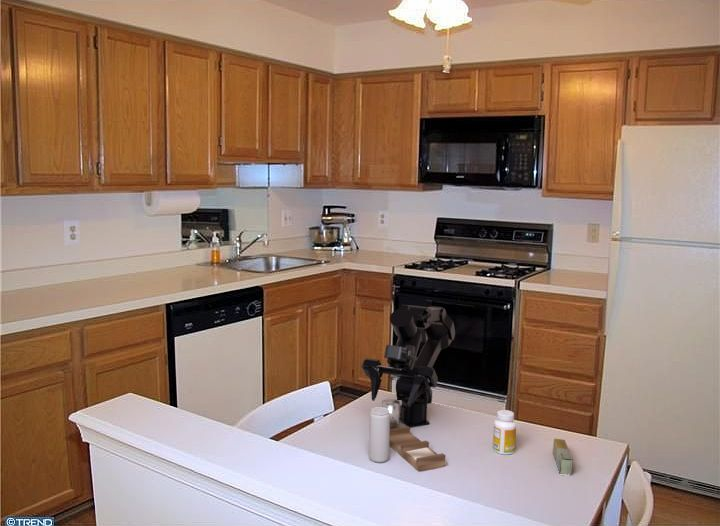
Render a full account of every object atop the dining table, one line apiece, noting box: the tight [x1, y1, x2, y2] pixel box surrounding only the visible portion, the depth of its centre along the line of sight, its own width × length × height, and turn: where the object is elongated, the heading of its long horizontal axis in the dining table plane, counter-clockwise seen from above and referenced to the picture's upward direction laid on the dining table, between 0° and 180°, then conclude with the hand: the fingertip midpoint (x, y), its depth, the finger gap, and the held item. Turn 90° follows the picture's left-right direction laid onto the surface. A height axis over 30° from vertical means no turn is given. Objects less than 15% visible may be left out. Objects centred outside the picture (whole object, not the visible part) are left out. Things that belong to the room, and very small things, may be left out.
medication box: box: [552, 438, 573, 476], centre depth 149 cm, size 12×3×4 cm, turn 171°
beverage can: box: [368, 406, 390, 464], centre depth 149 cm, size 5×5×12 cm
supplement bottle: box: [492, 409, 517, 456], centre depth 155 cm, size 5×5×10 cm
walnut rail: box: [389, 423, 446, 473], centre depth 157 cm, size 26×7×3 cm, turn 24°
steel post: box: [381, 398, 401, 429], centre depth 164 cm, size 5×5×7 cm
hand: (390, 403), depth 154 cm, fingers open, 9 cm apart
